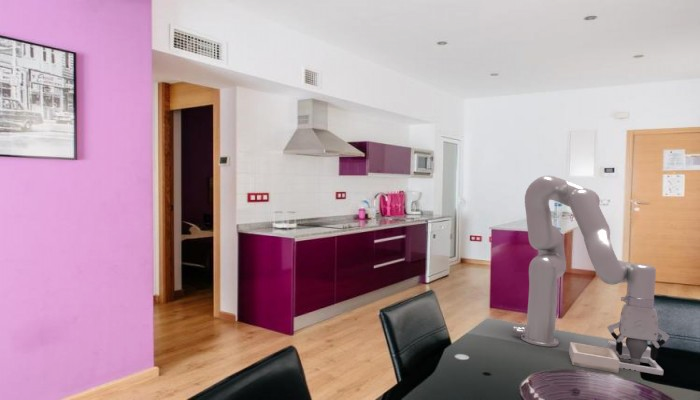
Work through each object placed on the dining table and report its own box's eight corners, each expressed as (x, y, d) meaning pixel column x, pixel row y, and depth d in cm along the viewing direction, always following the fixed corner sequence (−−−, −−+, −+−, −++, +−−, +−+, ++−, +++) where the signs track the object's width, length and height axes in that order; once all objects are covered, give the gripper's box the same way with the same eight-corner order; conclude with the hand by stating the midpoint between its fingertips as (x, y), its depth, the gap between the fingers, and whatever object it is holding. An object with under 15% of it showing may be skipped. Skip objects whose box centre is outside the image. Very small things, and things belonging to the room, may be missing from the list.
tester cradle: (616, 367, 144) (617, 352, 144) (606, 351, 160) (607, 338, 160) (663, 375, 140) (664, 360, 140) (648, 358, 156) (649, 344, 156)
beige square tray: (573, 365, 143) (573, 352, 143) (568, 353, 155) (569, 341, 155) (618, 373, 139) (619, 360, 139) (610, 360, 150) (611, 348, 150)
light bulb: (649, 369, 144) (651, 337, 144) (628, 367, 145) (630, 335, 145) (641, 363, 150) (643, 332, 150) (621, 360, 151) (623, 330, 151)
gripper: (611, 300, 147) (607, 355, 147) (675, 308, 141) (671, 365, 141) (607, 297, 154) (603, 348, 154) (667, 304, 148) (664, 358, 148)
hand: (636, 356), depth 148 cm, fingers open, 8 cm apart
